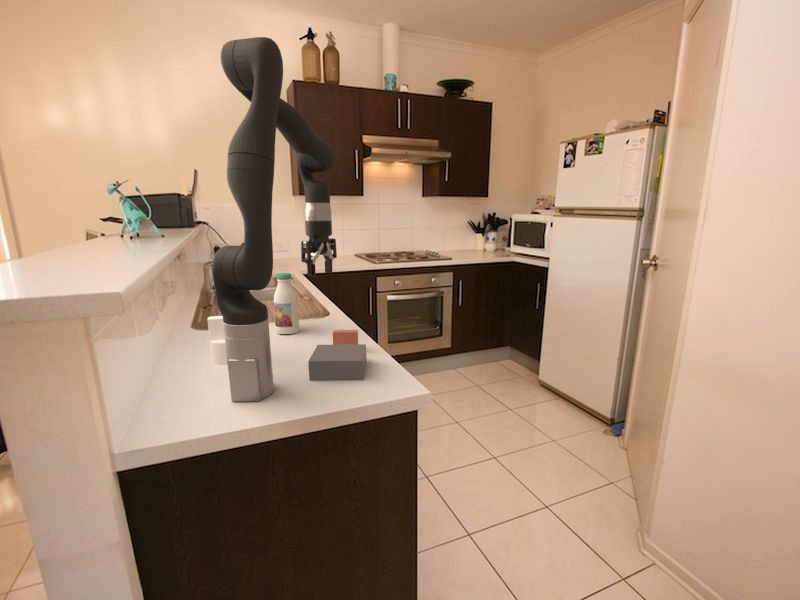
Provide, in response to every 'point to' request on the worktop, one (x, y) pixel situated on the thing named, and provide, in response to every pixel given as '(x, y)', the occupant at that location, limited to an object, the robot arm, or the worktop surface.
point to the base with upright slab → (217, 339)
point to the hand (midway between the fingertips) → (320, 275)
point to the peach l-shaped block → (345, 337)
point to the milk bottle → (285, 306)
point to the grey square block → (338, 362)
